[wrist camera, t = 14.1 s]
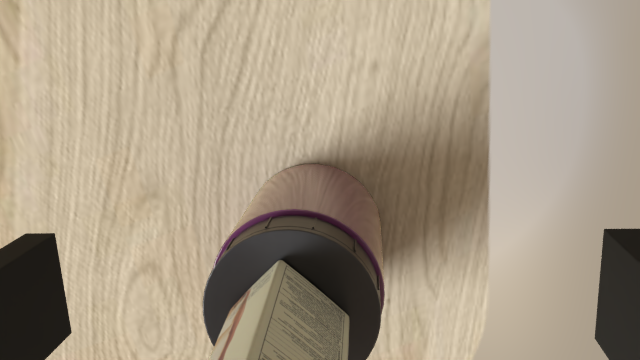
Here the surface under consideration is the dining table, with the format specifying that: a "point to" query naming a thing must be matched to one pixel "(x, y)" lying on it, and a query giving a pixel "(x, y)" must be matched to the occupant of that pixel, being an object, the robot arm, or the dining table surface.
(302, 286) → the cardboard box
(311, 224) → the jar lid
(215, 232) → the dining table surface
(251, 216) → the jar
